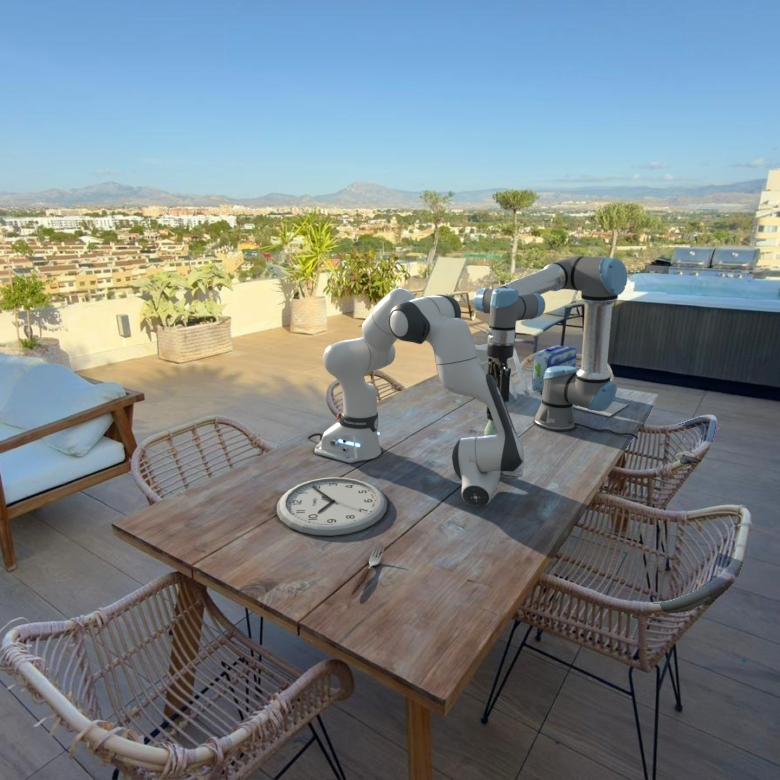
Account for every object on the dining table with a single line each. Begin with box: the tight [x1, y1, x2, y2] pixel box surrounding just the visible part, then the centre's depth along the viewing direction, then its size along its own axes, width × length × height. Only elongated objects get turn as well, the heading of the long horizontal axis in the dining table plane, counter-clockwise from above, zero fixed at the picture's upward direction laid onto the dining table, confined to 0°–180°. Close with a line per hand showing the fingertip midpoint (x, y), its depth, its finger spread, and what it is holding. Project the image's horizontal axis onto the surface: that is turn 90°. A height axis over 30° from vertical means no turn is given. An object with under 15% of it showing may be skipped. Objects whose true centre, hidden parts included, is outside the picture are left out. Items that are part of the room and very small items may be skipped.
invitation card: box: [573, 400, 629, 418], centre depth 226 cm, size 21×1×15 cm
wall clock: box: [276, 476, 388, 537], centre depth 142 cm, size 30×2×30 cm
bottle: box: [483, 419, 498, 436], centre depth 161 cm, size 6×6×19 cm
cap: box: [486, 411, 493, 421], centre depth 158 cm, size 5×5×2 cm
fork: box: [351, 545, 385, 596], centre depth 114 cm, size 3×16×2 cm, turn 160°
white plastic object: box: [475, 342, 531, 400], centre depth 245 cm, size 37×45×31 cm
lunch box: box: [531, 345, 577, 393], centre depth 245 cm, size 26×11×21 cm, turn 134°
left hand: (492, 453), depth 162 cm, fingers closed on bottle, 5 cm apart
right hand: (494, 417), depth 158 cm, fingers open, 7 cm apart
